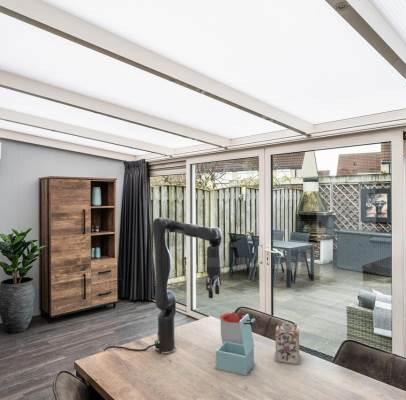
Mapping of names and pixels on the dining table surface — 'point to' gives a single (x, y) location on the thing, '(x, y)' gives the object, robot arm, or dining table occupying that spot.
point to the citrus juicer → (231, 328)
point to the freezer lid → (247, 333)
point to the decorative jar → (287, 343)
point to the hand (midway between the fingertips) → (214, 296)
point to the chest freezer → (234, 358)
